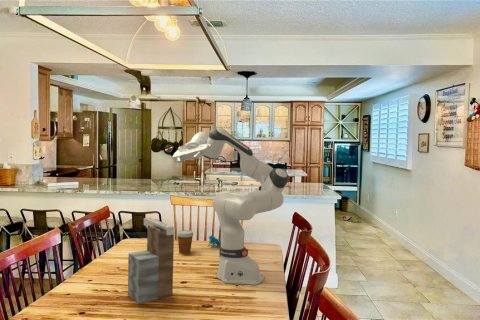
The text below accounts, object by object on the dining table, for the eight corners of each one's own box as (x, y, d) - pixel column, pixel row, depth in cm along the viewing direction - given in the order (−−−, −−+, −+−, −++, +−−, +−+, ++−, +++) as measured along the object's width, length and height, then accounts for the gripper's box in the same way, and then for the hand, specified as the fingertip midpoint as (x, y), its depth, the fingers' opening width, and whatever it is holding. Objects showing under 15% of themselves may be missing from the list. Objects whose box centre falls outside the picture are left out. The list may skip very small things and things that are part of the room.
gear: (226, 245, 222) (216, 235, 218) (221, 253, 219) (210, 243, 215) (216, 243, 231) (206, 234, 227) (211, 251, 228) (200, 241, 224)
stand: (127, 294, 149) (129, 227, 148) (160, 286, 158) (161, 223, 157) (138, 303, 141) (140, 233, 140) (172, 295, 150) (174, 228, 149)
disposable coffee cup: (172, 252, 209) (173, 232, 209) (184, 249, 217) (184, 229, 216) (185, 256, 204) (185, 234, 203) (196, 252, 211) (197, 231, 211)
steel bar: (143, 225, 161) (143, 218, 161) (150, 224, 163) (150, 217, 163) (166, 235, 144) (167, 227, 143) (173, 234, 145) (173, 226, 145)
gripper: (214, 149, 194) (208, 160, 182) (180, 157, 200) (172, 169, 188) (210, 138, 192) (203, 149, 180) (176, 147, 198) (167, 159, 186)
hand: (187, 159), depth 184 cm, fingers open, 8 cm apart
